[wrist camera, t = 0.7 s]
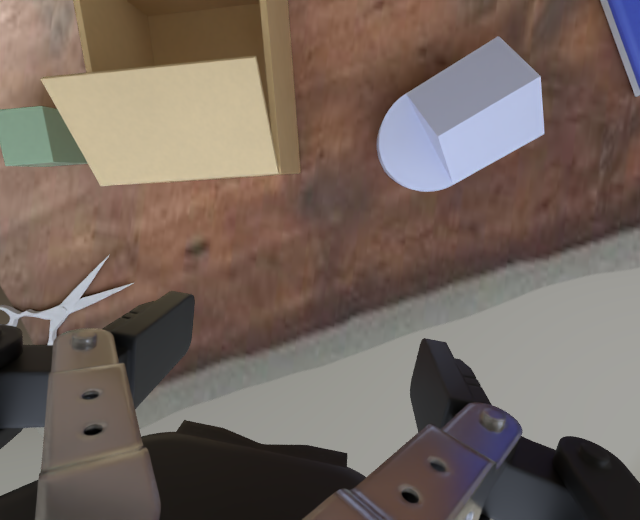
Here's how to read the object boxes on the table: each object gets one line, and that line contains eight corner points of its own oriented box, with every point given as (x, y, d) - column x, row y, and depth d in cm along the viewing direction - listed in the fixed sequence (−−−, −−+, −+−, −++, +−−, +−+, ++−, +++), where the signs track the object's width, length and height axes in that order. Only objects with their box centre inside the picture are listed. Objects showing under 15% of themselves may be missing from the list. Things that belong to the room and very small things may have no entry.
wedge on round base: (485, 48, 35) (360, 126, 37) (514, 20, 29) (360, 116, 31) (527, 137, 36) (403, 206, 39) (565, 129, 30) (413, 213, 32)
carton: (300, 173, 39) (281, 173, 29) (169, 182, 40) (106, 185, 30) (287, -4, 36) (260, -75, 25) (144, 13, 37) (64, -48, 27)
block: (35, 117, 40) (-8, 110, 35) (80, 113, 40) (41, 105, 35) (46, 166, 41) (5, 165, 36) (89, 163, 41) (53, 162, 36)
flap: (279, 171, 28) (278, 174, 28) (102, 183, 30) (100, 186, 30) (256, 55, 23) (255, 57, 23) (43, 76, 25) (40, 78, 24)
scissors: (-28, 322, 46) (89, 228, 41) (-21, 320, 46) (94, 227, 42) (32, 391, 47) (151, 307, 43) (37, 387, 48) (155, 304, 44)
